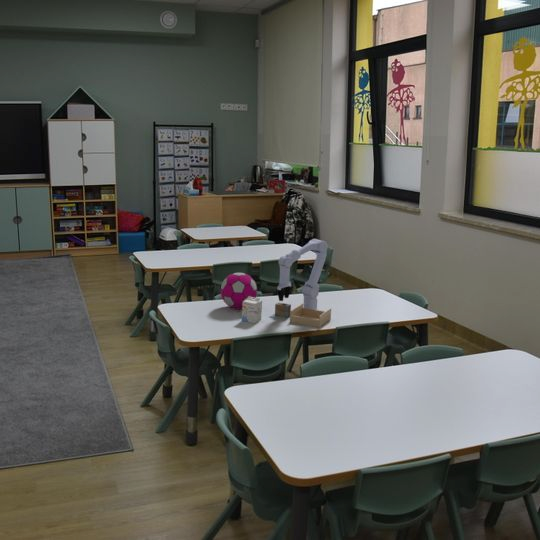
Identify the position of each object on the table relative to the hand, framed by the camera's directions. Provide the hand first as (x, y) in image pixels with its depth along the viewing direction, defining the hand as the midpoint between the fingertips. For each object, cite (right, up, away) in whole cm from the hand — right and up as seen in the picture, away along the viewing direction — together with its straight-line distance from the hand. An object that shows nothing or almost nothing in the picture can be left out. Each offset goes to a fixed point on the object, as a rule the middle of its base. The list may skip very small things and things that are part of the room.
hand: (283, 299), depth 396 cm
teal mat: (-1, -10, +1) cm, 10 cm away
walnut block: (-1, -10, +1) cm, 10 cm away
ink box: (-19, -12, -8) cm, 24 cm away
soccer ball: (-27, -6, +14) cm, 31 cm away
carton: (+15, -12, -6) cm, 21 cm away
